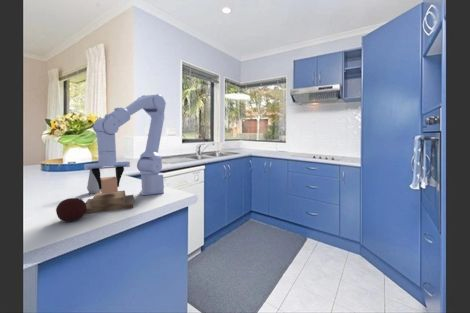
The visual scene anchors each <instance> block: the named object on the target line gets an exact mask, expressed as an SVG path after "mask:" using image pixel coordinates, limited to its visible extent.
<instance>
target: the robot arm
mask: <svg viewBox="0 0 470 313" xmlns="http://www.w3.org/2000/svg"><path fill="white" fill-rule="evenodd" d="M166 105H167V103H166V100H165V99H164V97H163V95H161V94H160V93H158V94H157V93H156V94H150V95H149V94H147V95H141V96H139V97H137V99H136V100H134V101H132V102H131V103H130V104H129V105H127V106H126V107H125V108H123V107H115V108H113V110H114V111H112V112H110V113H106V114H105V115H104V117H103V118H100V117H99V118H97V119H95V121H94V123H93V124H92V130H93V132H94V133H95V134H96V143H97V158H98V162H95V163H85V164H83V168H84V171H90V170H92V173H93V174H94V176H95V178H96V180H97V182H98V185H99V189H102V188H101V178H102V177H101V170H102V169H115V177H116V178H117V188H119V187H120V182H121V178H122V175H123V174H124V171H125V168H130V167H131V165H130V164H131V163H130V161H117V149H116V148H117V147H116V146H117V145H116V133H118V132H119V128H120V127H122V126H123V125H124V124H126V123H127V122H129V121H130V120H131V116H132V115H134V114H136V113H137V112H139V111H140V110H143V111H144V112H145V113H146V114H147V115H148V116H149V117H150V118H151V119H150V123H149V130H148V133H147V140H146V144H145V150H144V151H143V152H142V153H141V154H140V156H139V159H138V161H137V162H136V168H137V170H138V171H139V173H140V178H141V190H140V194H141V195H140V196H147V195H148V196H149V195H150V196H151V195H159V194H164V193H165V192H164V189H165V185H164V183H165V182H164V174H163V172H161V170H162V167H163V164H162V159H163V157H162V156H161V155H160V154H159V149H160V144H161V138H162V133H163V126H164V121H165V110H166Z"/></svg>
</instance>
